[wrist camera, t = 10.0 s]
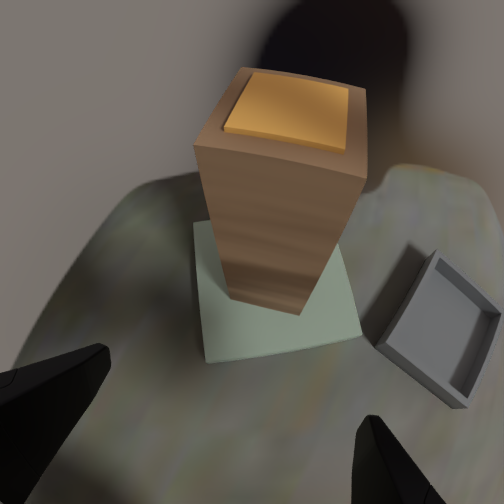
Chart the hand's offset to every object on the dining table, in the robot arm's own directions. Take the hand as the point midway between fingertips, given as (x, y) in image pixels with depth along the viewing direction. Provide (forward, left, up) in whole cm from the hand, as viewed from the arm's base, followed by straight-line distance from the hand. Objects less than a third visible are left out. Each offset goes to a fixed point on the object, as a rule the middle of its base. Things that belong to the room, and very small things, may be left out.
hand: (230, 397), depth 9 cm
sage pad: (+6, +4, -10) cm, 12 cm away
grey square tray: (+13, -7, -10) cm, 18 cm away
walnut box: (+6, +4, -9) cm, 12 cm away
